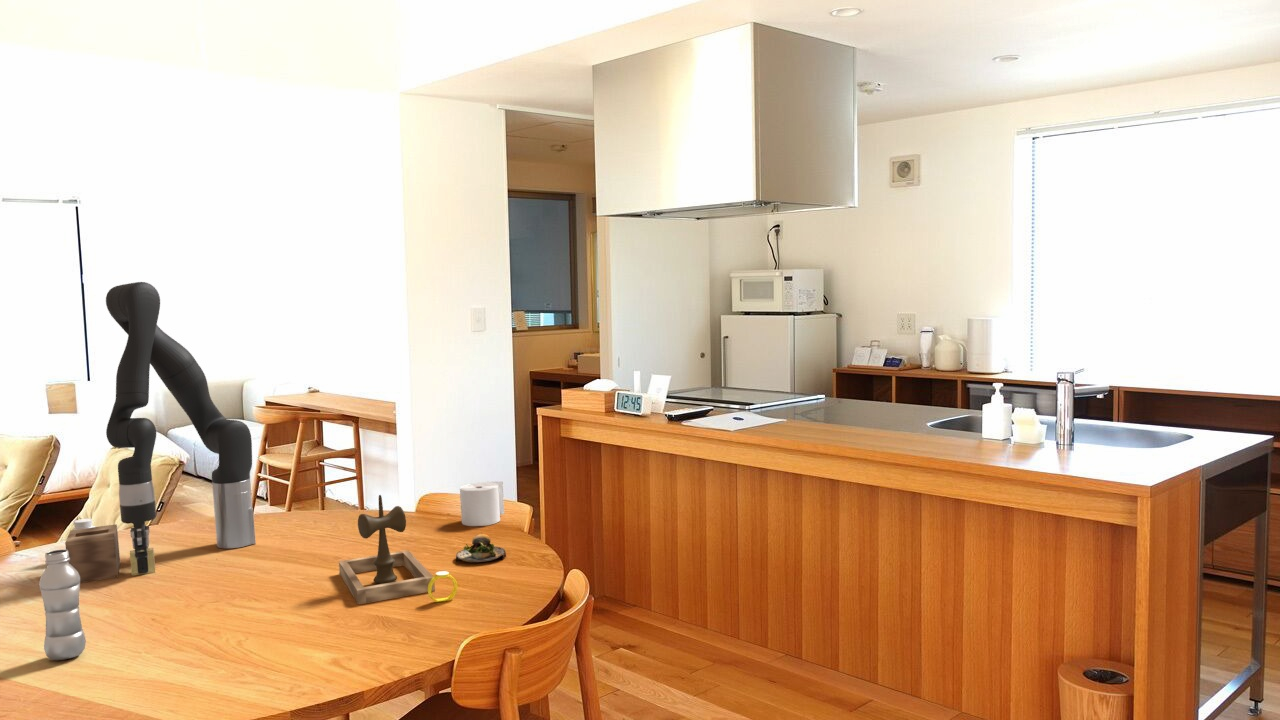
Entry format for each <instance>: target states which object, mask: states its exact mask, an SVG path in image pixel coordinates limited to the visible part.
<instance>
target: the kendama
mask: <svg viewBox="0 0 1280 720" xmlns="http://www.w3.org/2000/svg"><path fill="white" fill-rule="evenodd" d="M382 498H383V497H382V495H381V494H378V516H371V515H368V514H365V513H361V514H359V515H358V519H357V528H358V529H357V530H358V532H359V534H360V536H361V538H363V539H366V540H368V539H369V538H370V537H371V536H372V535H374V534H375V533H376V532H378V545H377V546H378V547H377V548H378V549H377V554H376V555H377V559H376V560H375V561H374V565H375V566H376V568H377V570H376V575H375V576H374V578H373V582H374V583H375V584H376V585H380V584H386V583H391V582H397V580H398V576H397V574H395V571H394V567H393V563H394V561H395V560H394V559H393V558H392V557H391V555H390V553H391V552H390V547H389V544H388V539H387V532H386V529H391V530H394V531H396V532H398V533H403V532H405V530H406V526H407V518H406V513H405V511H404V509H403V508H402V507H401V506H400V505H397V506H396V505H395V506H394V507H393V508H392V509H391V510H390V511H389V512H388V513H387V514H385V515H384V505H383V499H382Z"/></svg>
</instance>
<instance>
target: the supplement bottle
mask: <svg viewBox="0 0 1280 720" xmlns="http://www.w3.org/2000/svg"><path fill="white" fill-rule="evenodd" d="M73 523H74V525H73V526H74V528H73V529H72V530H77V529H85V528H93V527H96V526H95V525H93V519H92V518H81V519H76V520H74V522H73Z"/></svg>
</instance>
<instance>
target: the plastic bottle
mask: <svg viewBox="0 0 1280 720" xmlns="http://www.w3.org/2000/svg"><path fill="white" fill-rule="evenodd" d="M44 557H45V565H46V566H47V567H46V568H45V569H44V571H43V573H42V574H41V576H40V579H39V582H38V584H39V585H38V586H39V590H40V594H41V597H42V598H41V599H42V601H43V608H44V612H45V613H44V615H45V636H44V641H43V642H44V643H43V644H44V645H43V647H44V648H43V650H44V653H45V656H46V657H47V658H48V659H49V660H51V661H63V660H67V659H68V660H69V659H72V658H76V657H78V656H79V655H81V654H83V651H84V650H85V648H86V642H87V641H86V640H87V639H86V636H85V632H84V629H83V626H82V620H81V614H80V606H79V605H80V590H81V589H80V588H81V583H80V575H79V573H78V571H77V570H76V569H75V568H74V567H73V566H71V565H70V564H69V562H68V561H69V560H70V557H69V552H68V550H66V548H65V549H55V550H51V551H47V552H45V555H44Z"/></svg>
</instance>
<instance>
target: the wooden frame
mask: <svg viewBox="0 0 1280 720" xmlns="http://www.w3.org/2000/svg"><path fill="white" fill-rule="evenodd" d="M377 555H378V554H376V555H371V556H370V555H369V556H365V557H356V558H350V559H345V560H339V561H338V567H339V569H338V570H339V575H340V577H341V579H342V580H343V582H344V583H345V585H346V586H347V588H348V590H349V592H350V594H351V596H353V598H354V600H355V601H356V603H357V605H363V604H368V603H369V604H370V603H374V602H382V601H385V600H391V599H397V598H402V597H408V596H409V597H410V596H414V595H419V594H425V593H428V585H429V582H430V581H431V579H432V578H433V577H434V575H432V574H431V572H430V571H429V570H428V569H427V568H426V566H424V564H422V563H421V561H419V560H418V559H417V557H416V556H414V554H413V553H412V552H411V551H410V550H402V551H396V552H390V555H391V557H392V558H393V559H394V560H395V561H394V563H393V568H395V567H402V566H404V567H405V568H406V569H407V570H408V572H409V573H410V574H411V575H412V576H413V578H410V579H405V580H403V579H402V580H398V581H397V580H396V581H394V582H391V583H386V584H375V585H368V586H364V585H363V584H362V583H361V581H360V579H359V578H358V576H357V575H356V574H359V573H365V572H372V571H377V568H376V566H375V565H374V561H375V560H376V559H377ZM435 586H436V585H435V582H434V583H433V585H432V590H431V593H433V592H435V591H436V588H435Z"/></svg>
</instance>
